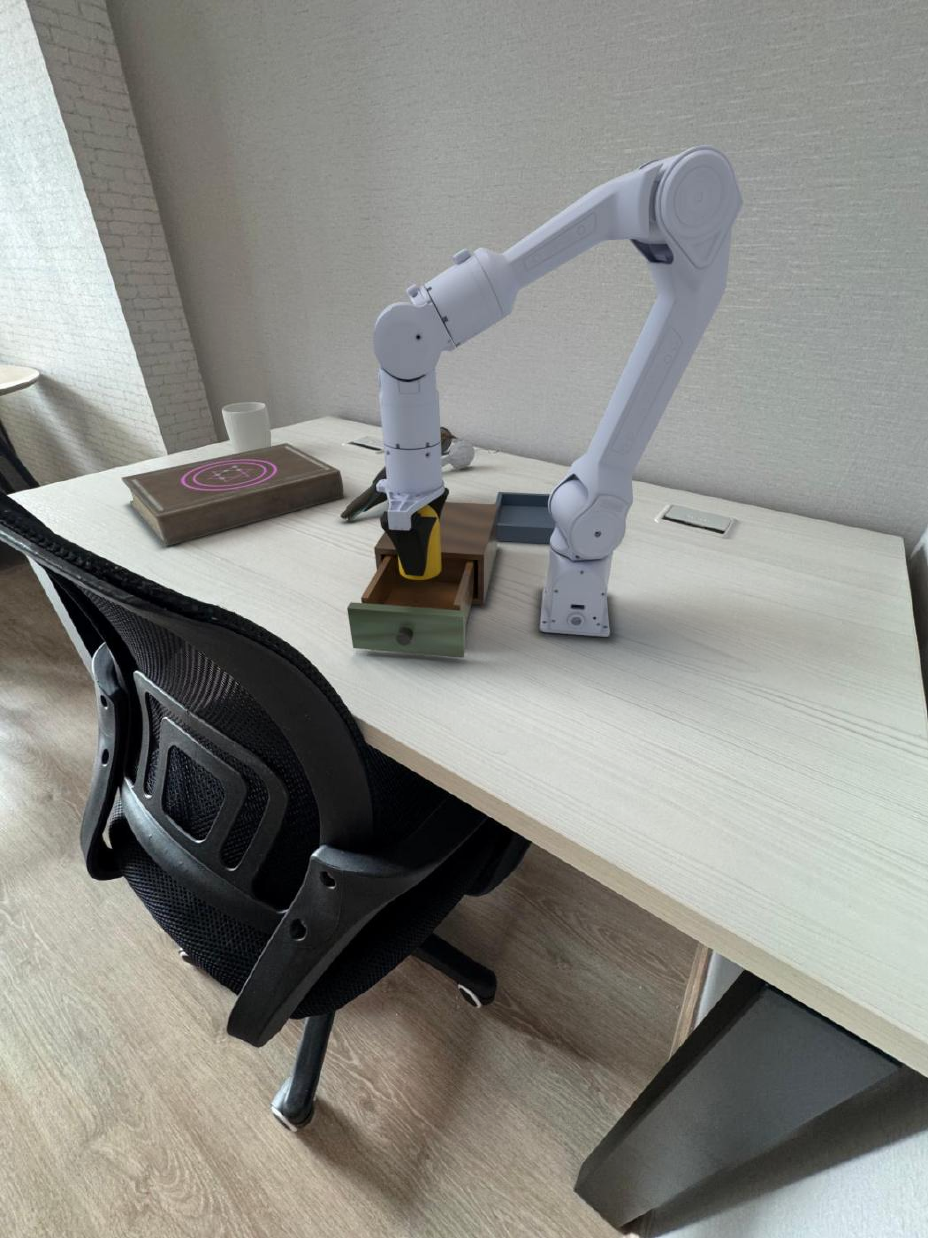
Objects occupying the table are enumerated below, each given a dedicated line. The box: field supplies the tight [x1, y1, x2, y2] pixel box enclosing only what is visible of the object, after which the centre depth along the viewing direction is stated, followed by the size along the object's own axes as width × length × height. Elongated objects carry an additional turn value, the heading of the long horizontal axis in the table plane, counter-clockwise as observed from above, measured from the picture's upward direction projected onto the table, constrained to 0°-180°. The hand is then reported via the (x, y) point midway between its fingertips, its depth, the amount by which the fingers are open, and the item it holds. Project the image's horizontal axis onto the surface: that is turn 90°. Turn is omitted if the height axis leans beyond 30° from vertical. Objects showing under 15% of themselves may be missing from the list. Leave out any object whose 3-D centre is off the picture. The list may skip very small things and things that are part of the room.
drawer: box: [346, 554, 476, 659], centre depth 65 cm, size 16×12×5 cm
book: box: [121, 442, 344, 547], centre depth 99 cm, size 30×22×5 cm
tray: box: [494, 491, 556, 545], centre depth 90 cm, size 14×16×3 cm
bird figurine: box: [339, 429, 459, 523], centre depth 93 cm, size 13×10×20 cm
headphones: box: [440, 426, 502, 470], centre depth 114 cm, size 17×6×20 cm
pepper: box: [398, 505, 442, 580], centre depth 61 cm, size 5×5×9 cm
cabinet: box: [373, 501, 498, 606], centre depth 76 cm, size 16×14×7 cm
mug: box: [221, 401, 272, 454], centre depth 121 cm, size 13×9×10 cm
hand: (420, 562), depth 63 cm, fingers closed on pepper, 5 cm apart
